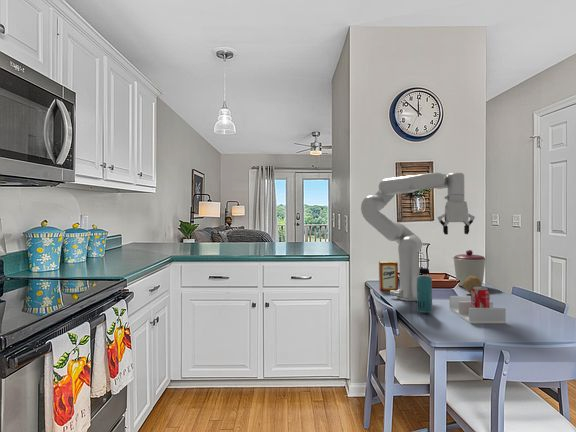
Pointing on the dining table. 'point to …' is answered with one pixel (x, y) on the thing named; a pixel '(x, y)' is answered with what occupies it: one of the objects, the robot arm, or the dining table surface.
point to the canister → (469, 266)
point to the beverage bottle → (424, 291)
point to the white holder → (476, 311)
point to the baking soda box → (388, 275)
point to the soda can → (480, 297)
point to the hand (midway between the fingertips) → (456, 234)
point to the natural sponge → (471, 283)
